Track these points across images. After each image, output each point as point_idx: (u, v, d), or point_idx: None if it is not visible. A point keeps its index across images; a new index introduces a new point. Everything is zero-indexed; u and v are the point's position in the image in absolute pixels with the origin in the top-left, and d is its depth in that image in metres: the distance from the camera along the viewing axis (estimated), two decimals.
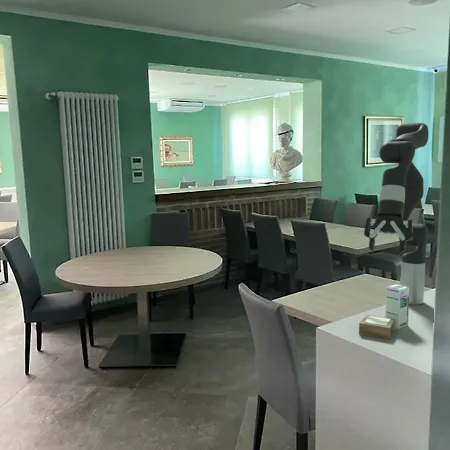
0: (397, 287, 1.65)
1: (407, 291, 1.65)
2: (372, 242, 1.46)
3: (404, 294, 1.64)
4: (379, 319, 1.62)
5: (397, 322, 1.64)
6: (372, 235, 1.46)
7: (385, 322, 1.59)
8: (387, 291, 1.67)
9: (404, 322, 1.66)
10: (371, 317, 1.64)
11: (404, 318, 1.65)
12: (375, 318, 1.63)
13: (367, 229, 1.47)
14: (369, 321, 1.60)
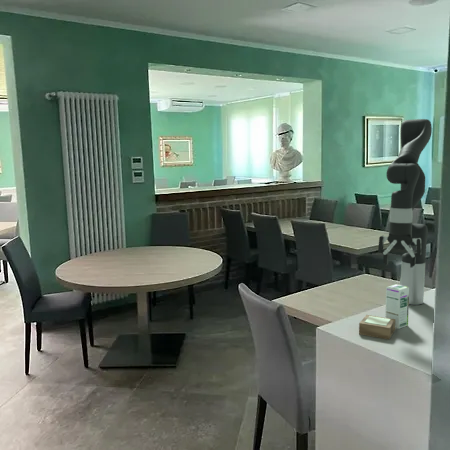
0: (397, 287, 1.65)
1: (407, 291, 1.65)
2: (386, 258, 1.66)
3: (404, 294, 1.64)
4: (379, 319, 1.62)
5: (397, 322, 1.64)
6: (385, 252, 1.66)
7: (385, 322, 1.59)
8: (387, 291, 1.66)
9: (404, 322, 1.66)
10: (371, 317, 1.64)
11: (404, 318, 1.65)
12: (375, 318, 1.63)
13: (380, 247, 1.66)
14: (369, 321, 1.60)
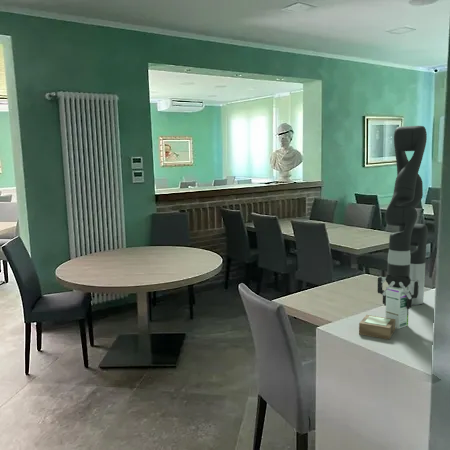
0: (397, 287, 1.65)
1: None
2: (385, 299, 1.68)
3: (404, 294, 1.64)
4: (379, 319, 1.62)
5: (397, 322, 1.64)
6: (385, 293, 1.67)
7: (385, 322, 1.59)
8: (387, 291, 1.66)
9: (404, 322, 1.66)
10: (371, 317, 1.64)
11: (404, 318, 1.65)
12: (375, 318, 1.63)
13: (379, 287, 1.68)
14: (369, 321, 1.60)
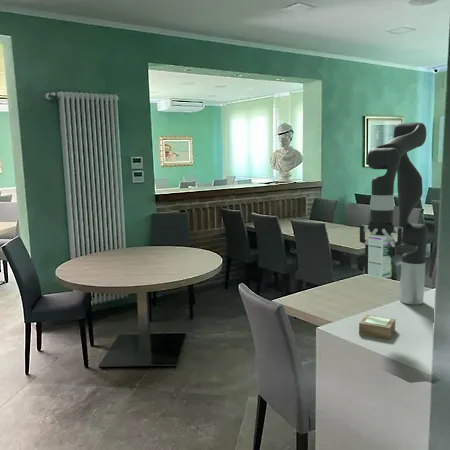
0: (380, 235, 1.56)
1: None
2: None
3: (387, 242, 1.55)
4: (379, 319, 1.62)
5: (380, 271, 1.55)
6: (367, 242, 1.58)
7: (385, 322, 1.59)
8: (370, 239, 1.57)
9: (387, 271, 1.57)
10: (371, 317, 1.64)
11: (387, 268, 1.56)
12: (375, 318, 1.63)
13: (362, 236, 1.59)
14: (369, 321, 1.60)
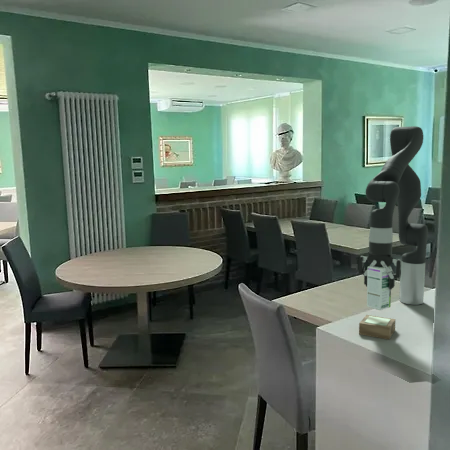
0: None
1: None
2: None
3: (386, 274, 1.56)
4: (379, 319, 1.62)
5: (379, 303, 1.57)
6: (366, 273, 1.60)
7: (385, 322, 1.59)
8: (368, 271, 1.59)
9: (386, 303, 1.58)
10: (371, 317, 1.64)
11: (386, 299, 1.58)
12: (375, 318, 1.63)
13: (361, 267, 1.61)
14: (369, 321, 1.60)
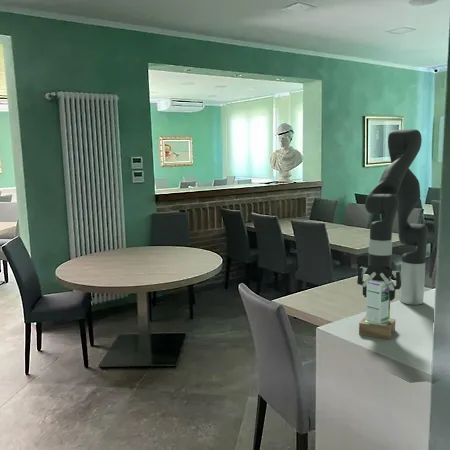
0: None
1: None
2: (365, 290, 1.61)
3: (385, 288, 1.57)
4: None
5: (378, 317, 1.57)
6: (365, 284, 1.60)
7: (385, 322, 1.59)
8: (368, 285, 1.59)
9: (386, 316, 1.59)
10: None
11: (385, 313, 1.59)
12: None
13: (360, 278, 1.61)
14: (369, 321, 1.60)
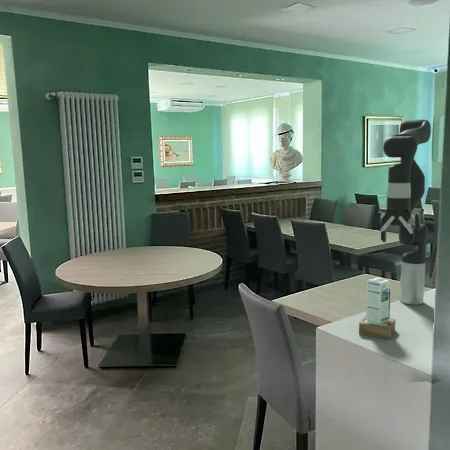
0: (378, 280, 1.58)
1: (388, 284, 1.58)
2: (383, 235, 1.61)
3: (385, 288, 1.57)
4: None
5: (378, 317, 1.57)
6: (383, 229, 1.60)
7: (385, 322, 1.59)
8: (368, 285, 1.59)
9: (386, 316, 1.59)
10: None
11: (385, 313, 1.59)
12: None
13: (378, 223, 1.61)
14: (369, 321, 1.60)
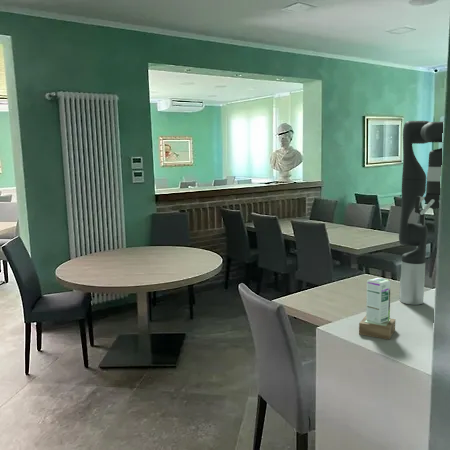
0: (378, 280, 1.58)
1: (388, 284, 1.58)
2: (423, 218, 1.65)
3: (385, 288, 1.57)
4: None
5: (378, 317, 1.57)
6: (422, 212, 1.65)
7: (385, 322, 1.59)
8: (368, 284, 1.59)
9: (386, 316, 1.59)
10: None
11: (385, 313, 1.59)
12: None
13: (417, 207, 1.65)
14: (369, 321, 1.60)
